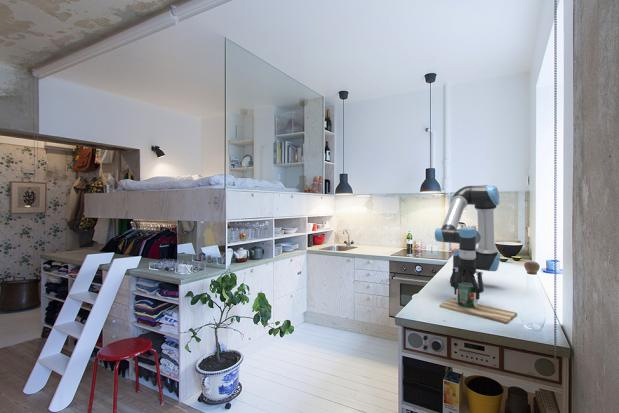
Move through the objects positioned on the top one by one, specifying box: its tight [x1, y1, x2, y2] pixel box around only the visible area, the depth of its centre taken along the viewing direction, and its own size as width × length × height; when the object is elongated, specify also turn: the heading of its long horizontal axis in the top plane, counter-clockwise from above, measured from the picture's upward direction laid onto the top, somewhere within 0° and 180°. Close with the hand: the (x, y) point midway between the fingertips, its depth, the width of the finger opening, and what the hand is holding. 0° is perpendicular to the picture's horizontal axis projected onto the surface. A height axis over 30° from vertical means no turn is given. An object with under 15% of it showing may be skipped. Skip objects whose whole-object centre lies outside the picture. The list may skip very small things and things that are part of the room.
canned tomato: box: [458, 282, 475, 309], centre depth 159 cm, size 8×8×11 cm
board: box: [439, 297, 518, 325], centre depth 156 cm, size 16×30×1 cm, turn 43°
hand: (466, 303), depth 159 cm, fingers closed on canned tomato, 8 cm apart
